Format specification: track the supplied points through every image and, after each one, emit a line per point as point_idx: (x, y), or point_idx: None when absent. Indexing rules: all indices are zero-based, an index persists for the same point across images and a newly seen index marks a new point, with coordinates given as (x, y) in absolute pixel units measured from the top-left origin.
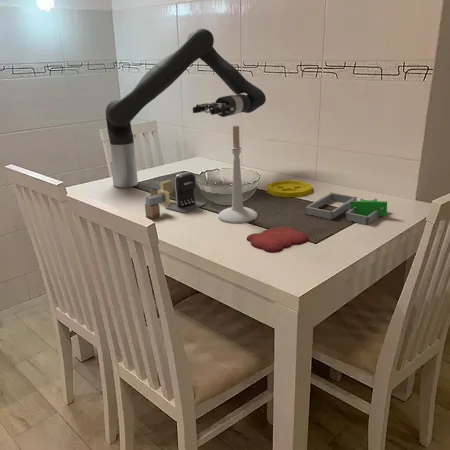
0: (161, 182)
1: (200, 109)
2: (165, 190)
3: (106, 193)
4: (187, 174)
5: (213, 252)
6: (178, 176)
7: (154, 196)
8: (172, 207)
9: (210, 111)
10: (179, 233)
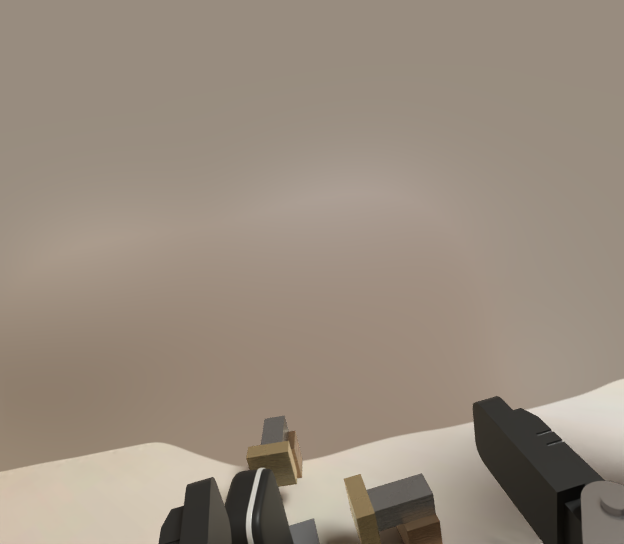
0: (359, 479)
1: (554, 529)
2: (351, 509)
3: (595, 438)
4: (231, 498)
5: (29, 484)
6: (250, 470)
7: (273, 433)
8: (297, 535)
9: (220, 496)
10: (149, 474)
